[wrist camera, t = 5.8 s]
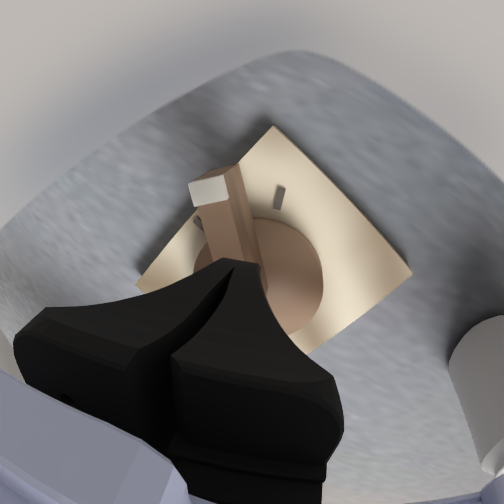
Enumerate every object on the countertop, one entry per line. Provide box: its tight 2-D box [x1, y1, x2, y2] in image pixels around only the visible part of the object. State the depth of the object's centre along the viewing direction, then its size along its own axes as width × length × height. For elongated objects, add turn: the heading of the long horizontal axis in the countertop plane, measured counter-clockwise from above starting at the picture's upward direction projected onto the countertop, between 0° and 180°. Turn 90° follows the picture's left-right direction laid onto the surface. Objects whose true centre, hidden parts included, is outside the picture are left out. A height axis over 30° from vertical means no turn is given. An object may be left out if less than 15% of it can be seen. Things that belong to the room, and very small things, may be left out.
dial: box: [188, 164, 324, 335], centre depth 17 cm, size 11×8×5 cm
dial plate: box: [135, 126, 413, 355], centre depth 20 cm, size 14×12×1 cm
